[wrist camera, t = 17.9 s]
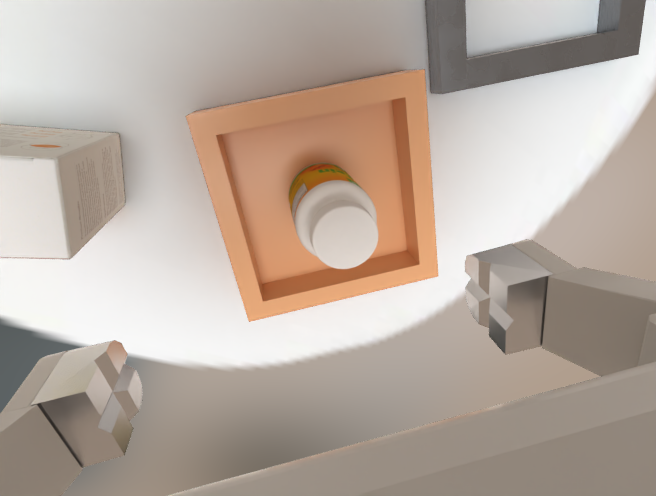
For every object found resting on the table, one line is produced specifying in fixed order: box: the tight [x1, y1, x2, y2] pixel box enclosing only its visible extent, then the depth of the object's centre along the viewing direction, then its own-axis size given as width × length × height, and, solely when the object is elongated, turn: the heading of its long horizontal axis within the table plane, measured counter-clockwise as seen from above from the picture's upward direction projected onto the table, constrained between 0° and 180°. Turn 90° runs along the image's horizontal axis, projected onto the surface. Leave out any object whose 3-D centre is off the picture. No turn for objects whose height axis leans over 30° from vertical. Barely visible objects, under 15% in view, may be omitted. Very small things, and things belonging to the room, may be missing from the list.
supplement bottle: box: [289, 162, 378, 269], centre depth 28 cm, size 5×5×10 cm
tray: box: [186, 69, 438, 322], centre depth 31 cm, size 16×16×4 cm
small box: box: [0, 124, 125, 259], centre depth 24 cm, size 8×6×10 cm
